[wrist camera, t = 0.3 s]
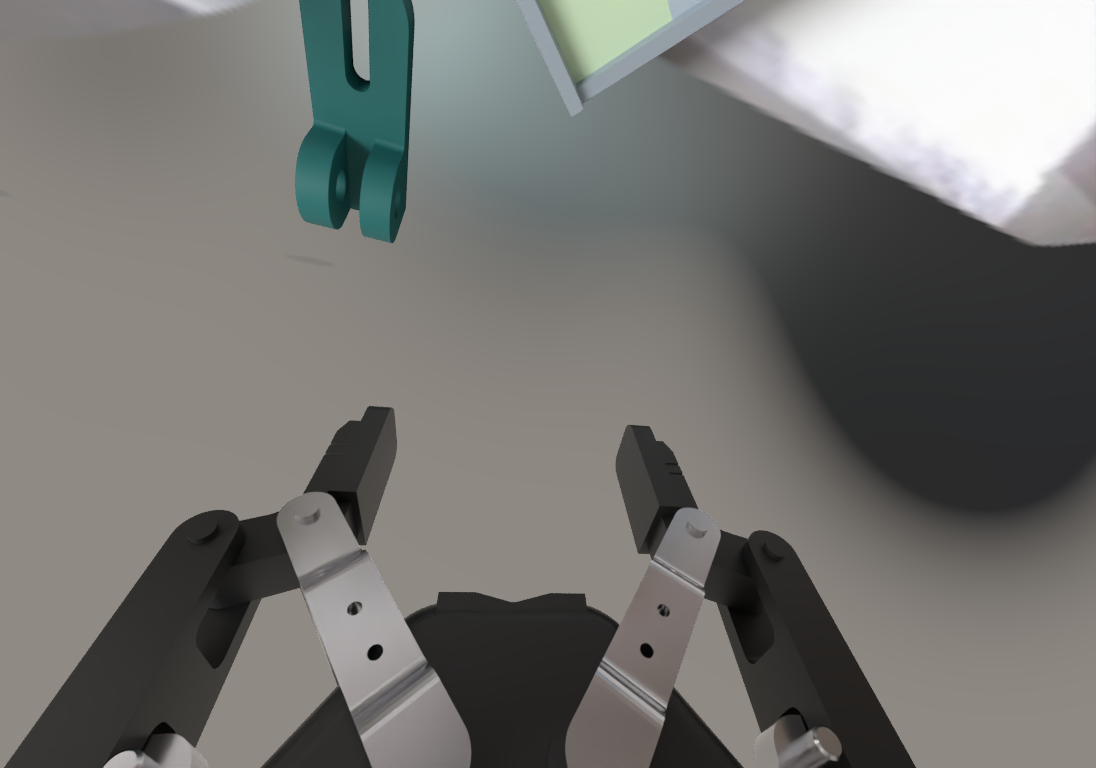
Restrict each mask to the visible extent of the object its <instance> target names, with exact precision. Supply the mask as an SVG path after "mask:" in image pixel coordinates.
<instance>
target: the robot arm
mask: <svg viewBox="0 0 1096 768" xmlns="http://www.w3.org/2000/svg"><path fill="white" fill-rule="evenodd" d="M396 449H397V439H396V427H395V416H394V409H393V408H389V407H374V406H369V407H368V408H367V410H366V412H365V414H364V416H363V418H362V420H361V421H349V422H348V423H346V424H345V425H344V426H343V427H341V428H340V429H339V430H338V431H337V432H336V434H335V436H334V438H333V440H332V442H331V445H330V446H329V447H328V449H327V451H326V454H325V455H324V456H323V459H322V460H321V462H320V464H319V466H318V468H317V469H316V472H315V473H314V475H313V477H312V479H311V481H310V482H309V484H308V486H307V488H306V490H305V492H304V493H303V494H302V495H299V496H297V497H295V498H293V499H291V500H290V501H288V502H287V503H286V504H285V505H284V506H283V507H282V508H281V510H280V511H279V512H276V513H274V514H270V515H266V516H261V517H256V518H251V519H247V520H242V521H239V520H238V518H237V516H236V515H235V514H234V513H232V512H229V511H224V510H213V511H208V512H204V513H201V514H198V515H196V516H194V517H192V518H190V519H188V520H186V521H185V522H183V523H182V524H181V525H180V526H178V527H177V528H176V529H175V530H174V532H173V533H172V534H171V535H170V537H169V538H168V540H167V541H166V542H165V544H164V545H163V546H162V548H161V549H160V551H159V552H158V553H157V555H156V556H155V558H154V559H153V560H152V562H151V563H150V565H149V566H148V567H147V569H146V570H145V571H144V573H143V574H142V576H141V577H140V579H139V580H138V581H137V583H136V584H135V586H134V587H133V588H132V590H131V591H130V592H129V594H128V595H127V597H126V598H125V600H124V601H123V602H122V604H121V605H120V606H119V608H118V609H117V611H116V612H115V613H114V615H113V616H112V618H111V619H110V620H109V622H108V623H107V625H106V626H105V627H104V629H103V630H102V632H101V633H100V634H99V636H98V637H97V639H96V640H95V641H94V643H93V644H92V646H91V647H90V648H89V650H88V651H87V653H86V654H85V655H84V657H83V658H82V660H81V661H80V662H79V664H78V665H77V667H76V668H75V670H74V671H73V672H72V674H71V675H70V676H69V678H68V679H67V681H66V682H65V683H64V685H63V686H62V687H61V689H60V690H59V692H58V693H57V695H56V696H55V697H54V699H53V700H52V701H51V703H50V704H49V706H48V707H47V708H46V710H45V711H44V713H43V714H42V716H41V717H40V718H39V720H38V721H37V722H36V724H35V725H34V727H33V728H32V730H31V731H30V732H29V734H28V735H27V736H26V738H25V740H24V741H23V742H22V743H21V745H20V746H19V748H18V749H17V750H16V752H15V753H14V755H13V756H12V757H11V759H10V760H9V762H8V763H7V764H6V766H5V767H4V768H209V765H208V762H207V761H206V759H205V758H204V757H203V756H202V755H201V754H200V753H199V752H198V751H197V750H196V749H195V747H196V745H197V742H198V740H199V738H200V736H201V733H202V731H203V729H204V727H205V725H206V722H207V720H208V718H209V716H210V713H211V711H212V709H213V707H214V704H215V702H216V700H217V698H218V695H219V693H220V691H221V689H222V686H223V684H224V682H225V679H226V677H227V675H228V673H229V670H230V668H231V666H232V664H233V662H234V659H235V657H236V655H237V652H238V650H239V648H240V646H241V644H242V641H243V639H244V637H245V635H246V632H247V630H248V628H249V626H250V623H251V621H252V619H253V617H254V614H255V612H256V610H257V607H258V605H259V603H260V601H261V599H262V598H264V597H268V596H272V595H275V594H279V593H282V592H286V591H290V590H293V589H297V588H300V589H301V592H302V594H303V597H304V600H305V602H306V605H307V607H308V610H309V612H310V615H311V618H312V620H313V623H314V625H315V628H316V631H317V633H318V636H319V639H320V641H321V644H322V647H323V649H324V652H325V655H326V657H327V660H328V663H329V665H330V668H331V671H332V673H333V676H334V678H335V681H336V683H337V687H336V688H335V690H334V691H333V692H332V693H331V694H330V695H329V696H328V697H327V698H326V699H325V700H324V701H323V702H322V703H321V704H320V705H319V707H318V708H317V709H316V710H315V711H314V712H313V713H312V714H311V715H310V716H309V717H308V718H307V719H306V720H305V721H304V722H303V723H302V724H301V726H300V727H299V728H298V729H297V730H296V731H295V732H294V733H293V734H292V735H291V736H290V737H289V738H288V739H287V740H286V741H285V742H284V744H283V745H282V746H281V747H280V748H279V749H278V750H277V751H276V752H275V753H274V754H273V755H272V756H271V757H270V758H269V759H268V760H267V762H265V764H264V765H263V766H262V767H261V768H743V767H742V765H741V764H740V763H739V762H738V761H737V759H736V758H735V757H734V756H733V755H732V754H731V753H730V752H729V750H728V749H727V748H726V747H725V746H724V744H723V743H722V742H721V741H720V740H719V739H718V738H717V736H716V735H715V734H714V733H713V732H712V731H711V729H710V728H709V727H708V726H707V725H706V724H705V722H704V721H703V720H702V719H701V718H700V717H699V715H698V714H697V713H696V712H695V711H694V710H693V708H692V707H691V706H690V705H689V704H688V703H687V702H686V701H685V699H684V698H683V697H682V696H681V695H680V693H679V692H678V691H677V690H676V689H675V688H674V683H675V681H676V678H677V675H678V672H679V669H680V666H681V663H682V660H683V657H684V654H685V651H686V648H687V645H688V643H689V640H690V637H691V634H692V631H693V628H694V625H695V622H696V619H697V616H698V613H699V610H700V607H701V604H702V601H703V598H705V599H708V600H711V601H714V602H716V603H717V605H718V608H719V611H720V614H721V617H722V620H723V623H724V626H725V629H726V632H727V635H728V637H729V640H730V643H731V646H732V649H733V652H734V655H735V658H736V661H737V664H738V667H739V670H740V672H741V675H742V678H743V681H744V684H745V687H746V690H747V693H748V696H749V699H750V702H751V704H752V707H753V710H754V713H755V716H756V719H757V722H758V725H759V728H760V731H761V734H760V735H759V736H758V737H757V739H756V741H755V745H754V761H755V765H756V768H916V767H915V765H914V763H913V761H912V760H911V758H910V756H909V754H908V752H907V751H906V749H905V747H904V745H903V744H902V742H901V740H900V738H899V736H898V735H897V733H896V731H895V729H894V728H893V726H892V724H891V722H890V720H889V718H888V717H887V715H886V713H885V711H884V710H883V708H882V706H881V704H880V702H879V701H878V699H877V697H876V695H875V693H874V692H873V690H872V688H871V686H870V685H869V683H868V681H867V679H866V678H865V676H864V674H863V672H862V670H861V668H860V667H859V665H858V663H857V662H856V660H855V658H854V656H853V654H852V653H851V651H850V649H849V647H848V645H847V643H846V642H845V640H844V638H843V636H842V635H841V633H840V631H839V629H838V628H837V626H836V624H835V622H834V620H833V619H832V617H831V615H830V613H829V611H828V610H827V608H826V606H825V604H824V602H823V600H822V599H821V597H820V595H819V594H818V592H817V590H816V588H815V586H814V584H813V583H812V581H811V579H810V577H809V576H808V574H807V572H806V570H805V569H804V567H803V565H802V563H801V561H800V559H799V558H798V556H797V554H796V552H795V551H794V549H793V548H792V547H791V546H790V545H789V544H788V543H787V542H786V541H785V540H784V539H782V538H781V537H779V536H778V535H776V534H774V533H771V532H768V531H760V530H759V531H755V532H753V533H752V534H751V535H750V537H749V538H748V539H746V538H743V537H740V536H737V535H733V534H731V533H728V532H724V531H722V530H720V529H719V527H718V525H717V523H716V522H715V521H714V520H713V519H712V518H711V517H710V516H709V515H708V514H706V513H705V512H703V511H701V510H699V509H698V507H697V505H696V502H695V500H694V498H693V496H692V494H691V491H690V489H689V487H688V485H687V483H686V480H685V478H684V476H683V475H682V471H681V469H680V467H679V466H678V462H677V460H676V458H675V456H674V453H673V452H672V451H671V450H670V448H669V447H668V446H667V445H666V444H665V443H664V442H663V441H656V440H655V437H654V435H653V432H652V430H651V429H650V427H649V426H638V425H628V426H627V427H626V429H625V432H624V435H623V438H622V442H621V444H620V447H619V450H618V453H617V457H616V473H617V477H618V481H619V484H620V488H621V491H622V495H623V499H624V503H625V507H626V510H627V514H628V517H629V521H630V525H631V529H632V532H633V536H634V540H635V544H636V547H637V551H638V553H640V554H650V556H651V558H652V561H651V563H650V566H649V567H648V569H647V572H646V573H645V575H644V577H643V580H642V581H641V583H640V585H639V588H638V589H637V592H636V593H635V595H634V597H633V599H632V601H631V603H630V605H629V607H628V609H627V611H626V613H625V616H624V617H623V619H622V621H621V623H620V625H619V624H618V623H617V622H616V621H615V620H613V619H612V618H610V617H609V616H608V615H606V614H605V613H603V612H601V611H599V610H597V609H595V608H593V607H590V606H587V605H586V598H585V594H561V593H550V594H546V595H542V596H538V597H534V598H531V599H527V600H523V601H519V602H508V601H504V600H501V599H498V598H494V597H491V596H487V595H483V594H480V593H476V592H439V594H438V600H437V604H434V605H430V606H427V607H425V608H422V609H420V610H418V611H416V612H414V613H412V614H410V615H409V616H408V617H406V618H403V616H402V615H401V613H400V611H399V609H398V607H397V605H396V604H395V602H394V600H393V598H392V596H391V594H390V592H389V591H388V589H387V587H386V585H385V583H384V582H383V579H382V578H381V576H380V574H379V572H378V570H377V568H376V566H375V564H374V563H373V561H372V559H371V557H370V555H369V554H368V552H367V551H366V550H363V551H362V549H361V548H360V546H359V545H366V544H367V541H368V537H369V535H370V532H371V529H372V526H373V523H374V520H375V517H376V514H377V511H378V508H379V505H380V502H381V499H382V496H383V493H384V490H385V487H386V484H387V481H388V478H389V475H390V472H391V469H392V466H393V463H394V460H395V456H396Z"/></svg>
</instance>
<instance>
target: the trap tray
mask: <svg viewBox="0 0 1096 768" xmlns="http://www.w3.org/2000/svg"><path fill="white" fill-rule="evenodd" d="M743 1H744V0H516V2H517V4H518V7H519V9H520V11H521V13H522V15H523V17H524V19H525V21H526V23H527V25H528V28H529V30H530V32H531V34H532V36H533V38H534V40H535V42H536V44H537V46H538V48H539V51H540V53H541V55H542V57H543V59H544V61H545V63H546V65H547V67H548V69H549V71H550V74H551V76H552V78H553V80H554V82H555V84H556V86H557V88H558V90H559V92H560V94H561V96H562V98H563V101H564V103H565V105H566V107H567V109H568V111H569V113H570V115H571V117H572V116H574V115H576V114H577V113H579V112H580V111H582V110H583V109H584V106H583V103H584V102H586V101H588V100H589V99H591V98H592V97H594V96H595V95H597V94H599V93H600V92H601V91H603V90H605V89H606V88H608V87H610V86H611V85H613V84H614V83H616V82H617V81H619V80H620V79H622V78H624V77H625V76H627V75H628V74H630V73H631V72H633V71H635V70H636V69H638V68H639V67H641V66H642V65H644V64H646V63H647V62H649V61H650V60H652V59H653V58H655V57H657V56H658V55H660V54H661V53H663V52H664V51H666V50H668V49H669V48H671V47H672V46H674V45H675V44H677V43H679V42H680V41H682V40H683V39H685V38H686V37H688V36H690V35H691V34H693V33H694V32H696V31H697V30H699V29H701V28H702V27H704V26H705V25H707V24H708V23H710V22H712V21H713V20H715V19H716V18H718V17H719V16H721V15H723V14H724V13H726V12H727V11H729V10H730V9H732V8H733V7H735V6H737V5H738V4H740V3H741V2H743Z"/></svg>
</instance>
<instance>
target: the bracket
mask: <svg viewBox="0 0 1096 768" xmlns="http://www.w3.org/2000/svg"><path fill="white" fill-rule="evenodd" d="M299 2H300V11H301V18H302V27H303V35H304V43H305V51H306V59H307V67H308V76H309V84H310V92H311V100H312V108H313V116H314V124H313V127H312V128H311V129H310V131H309V132H308V134H307V135H306V136H305V138H304V140H303V142H302V144H301V147H300V150H299V154H298V158H297V165H296V177H295V188H296V199H297V205H298V209H299V212H300V214H301V216H302V218H303V220H305V221H306V222H309V223H312V224H317V225H321V226H325V227H329V228H333V229H339V228H341V227H342V225H343V223H344V221H345V219H346V217H347V215H348V212H349V210H350V208H352V209H356V210H360V227H361V231H362V234H363V235H364V236H366V237H370V238H373V239H377V240H381V241H386V242H390V243H393V242H394V241H395V238H396V236H397V233H398V230H399V227H400V224H401V221H402V218H403V215H404V212H405V209H406V191H407V171H408V150H409V129H410V108H411V88H412V68H413V46H414V26H415V25H414V24H415V21H414V10H413V4H412V0H368V9H369V53H370V55H369V56H370V80H365V79H363V78H361V77H360V76H359V75H358V74H357V72H356V71H355V68H354V65H353V48H352V47H353V46H352V26H351V5H350V0H299Z"/></svg>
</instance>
